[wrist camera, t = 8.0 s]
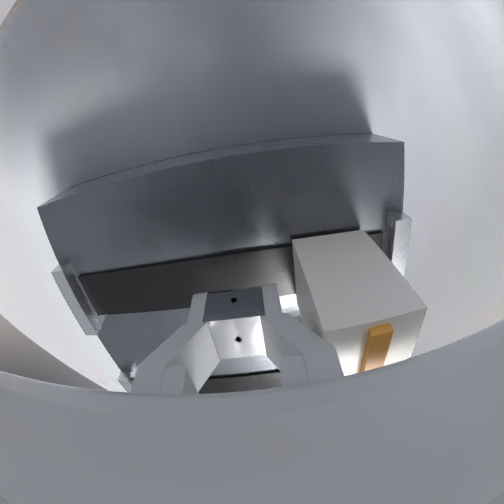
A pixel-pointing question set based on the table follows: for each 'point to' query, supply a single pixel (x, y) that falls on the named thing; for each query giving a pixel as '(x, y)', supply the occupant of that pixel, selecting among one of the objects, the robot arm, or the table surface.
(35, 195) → the table surface
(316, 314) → the fader
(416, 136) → the table surface
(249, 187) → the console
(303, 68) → the table surface
